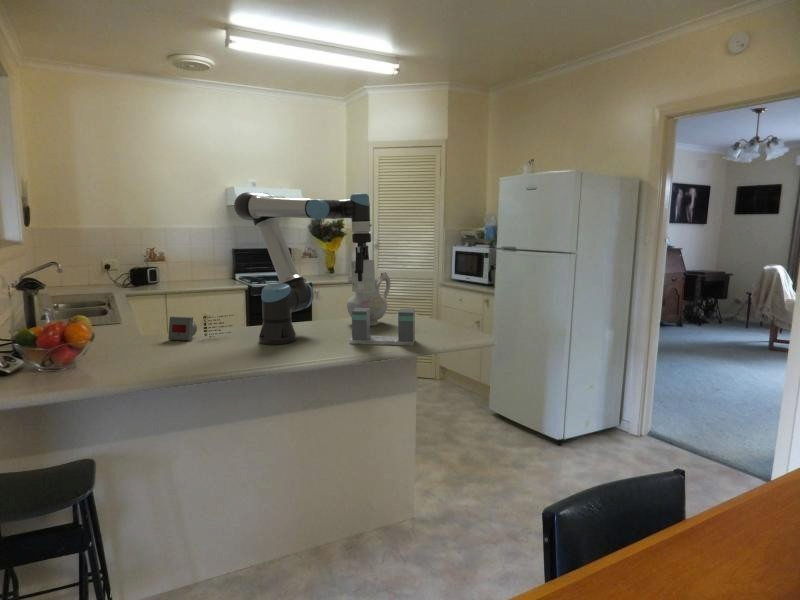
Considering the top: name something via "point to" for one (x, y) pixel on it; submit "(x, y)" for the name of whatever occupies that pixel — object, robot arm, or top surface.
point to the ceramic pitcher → (371, 300)
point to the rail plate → (382, 341)
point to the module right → (406, 325)
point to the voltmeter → (187, 328)
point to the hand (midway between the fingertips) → (363, 287)
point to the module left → (360, 323)
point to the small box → (368, 276)
